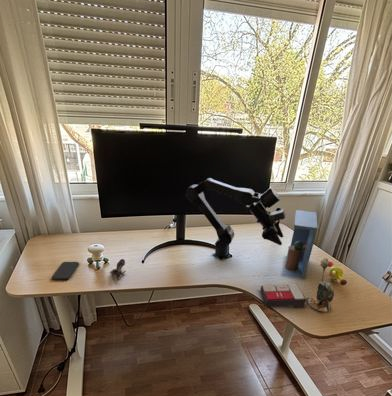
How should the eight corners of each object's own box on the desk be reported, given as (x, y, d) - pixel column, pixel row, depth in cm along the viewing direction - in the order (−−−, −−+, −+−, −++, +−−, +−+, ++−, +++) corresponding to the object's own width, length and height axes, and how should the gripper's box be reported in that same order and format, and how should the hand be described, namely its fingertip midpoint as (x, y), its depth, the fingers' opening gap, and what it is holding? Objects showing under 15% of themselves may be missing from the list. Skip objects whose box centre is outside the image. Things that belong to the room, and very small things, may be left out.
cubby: (283, 275, 132) (294, 224, 119) (286, 256, 149) (296, 209, 136) (303, 279, 130) (317, 228, 117) (304, 259, 147) (316, 212, 134)
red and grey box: (260, 283, 119) (297, 282, 119) (259, 292, 121) (295, 291, 121) (266, 299, 110) (306, 298, 110) (265, 308, 112) (304, 307, 112)
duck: (284, 269, 137) (290, 242, 129) (285, 263, 142) (290, 237, 134) (300, 271, 135) (307, 244, 128) (300, 266, 140) (307, 239, 132)
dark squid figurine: (131, 276, 126) (129, 263, 132) (120, 266, 121) (119, 253, 127) (117, 285, 127) (115, 272, 133) (106, 276, 122) (105, 262, 128)
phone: (79, 261, 136) (68, 278, 123) (79, 263, 136) (69, 280, 123) (63, 261, 135) (50, 278, 123) (63, 263, 136) (51, 279, 123)
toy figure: (320, 270, 137) (324, 257, 134) (332, 271, 137) (336, 258, 134) (334, 292, 122) (339, 278, 118) (347, 292, 122) (352, 278, 118)
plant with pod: (312, 315, 108) (327, 268, 97) (305, 298, 118) (317, 253, 107) (334, 317, 108) (351, 269, 97) (325, 299, 117) (340, 254, 107)
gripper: (274, 209, 118) (296, 238, 121) (278, 197, 133) (298, 223, 136) (252, 225, 124) (274, 252, 128) (258, 212, 139) (277, 236, 143)
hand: (281, 240), depth 133 cm, fingers open, 9 cm apart
